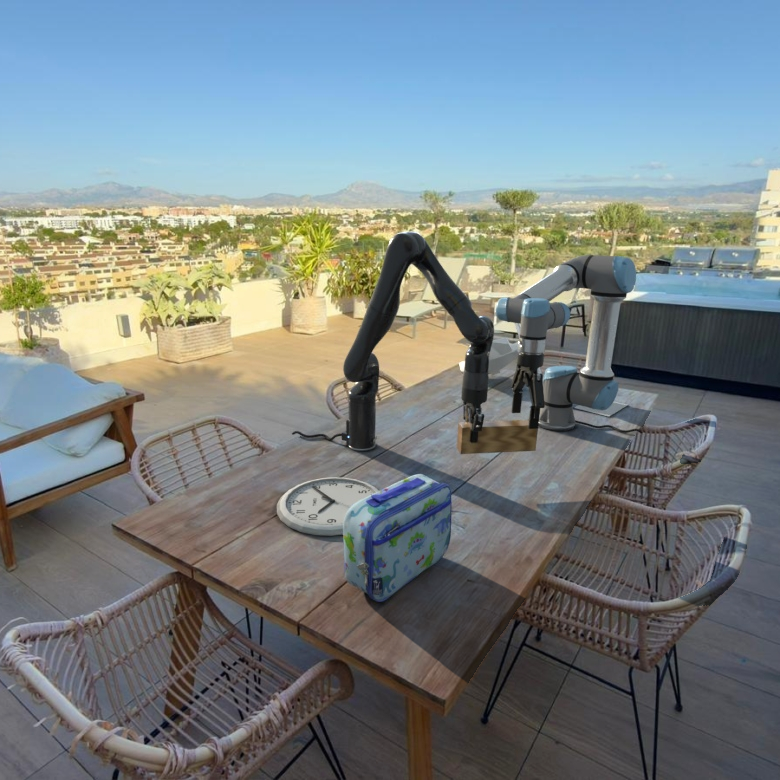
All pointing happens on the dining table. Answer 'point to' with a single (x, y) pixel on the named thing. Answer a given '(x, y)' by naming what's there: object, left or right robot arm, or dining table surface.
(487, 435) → the bar
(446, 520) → the lunch box
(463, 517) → the dining table surface
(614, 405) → the invitation card
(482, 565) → the dining table surface
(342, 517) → the wall clock
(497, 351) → the white plastic object
